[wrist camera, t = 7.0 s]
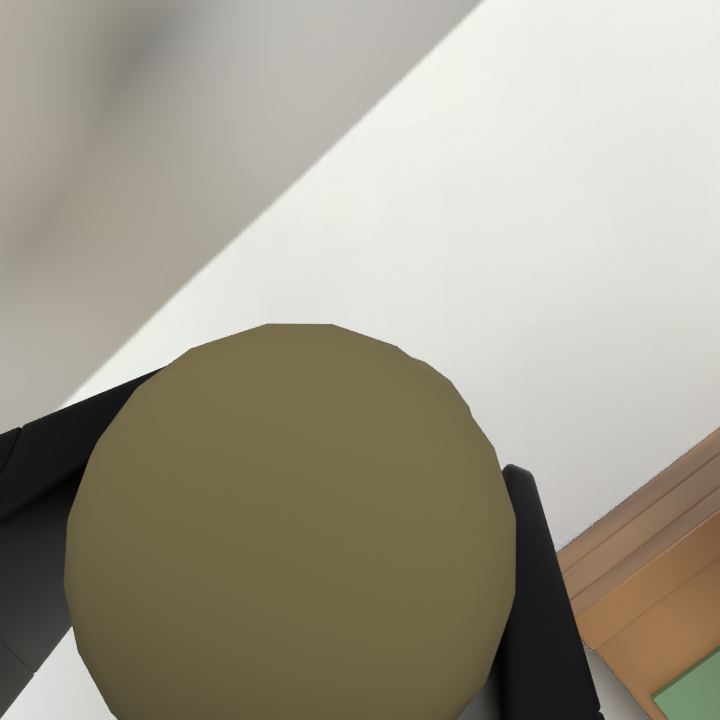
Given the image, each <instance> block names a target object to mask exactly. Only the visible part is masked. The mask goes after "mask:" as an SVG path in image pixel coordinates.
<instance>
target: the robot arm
mask: <svg viewBox="0 0 720 720" xmlns="http://www.w3.org/2000/svg"><path fill="white" fill-rule="evenodd" d="M165 367H166V366H165ZM165 367H163V368H165ZM163 368H160V369H158V370H155V371H153V372H151V373H148V374H146V375H143V376H141V377H138V378H136V379H134V380H131V381H129V382H126V383H124V384H122V385H119V386H117V387H114V388H112V389H109V390H107V391H105V392H102V393H100V394H97V395H95V396H93V397H90V398H88V399H85V400H83V401H80V402H78V403H76V404H73V405H71V406H68V407H66V408H64V409H61V410H59V411H56V412H54V413H51V414H49V415H47V416H44V417H42V418H39V419H38V420H35V421H32V422H30V423H28V424H25V425H24V426H23V427H22V428H20V427H18V428H15V429H12V430H11V431H8V432H5V433H3V434H0V719H1V717H2V716H3V715H4V714H5V712H6V711H7V710H8V708H9V707H10V706H11V705H12V703H13V702H14V701H15V699H16V698H17V697H18V695H19V694H20V693H21V692H22V690H23V689H24V688H25V686H26V685H27V684H28V683H29V681H30V680H31V679H32V677H33V676H34V673H35V672H37V670H38V669H39V668H40V667H41V665H42V664H43V663H44V661H45V660H46V659H47V658H48V656H49V655H50V654H51V652H52V651H53V650H54V649H55V647H56V646H57V645H58V643H59V642H60V641H61V639H62V638H63V637H64V636H65V634H66V633H67V632H68V630H69V629H70V628H71V627H72V622H71V617H70V612H69V608H68V603H67V599H66V594H65V590H64V571H65V555H66V539H67V522H68V517H69V514H70V511H71V508H72V506H73V503H74V500H75V497H76V495H77V492H78V489H79V486H80V483H81V481H82V478H83V475H84V472H85V469H86V467H87V464H88V461H89V458H90V456H91V454H92V452H93V450H94V448H95V446H96V444H97V441H98V440H99V438H100V437H101V436H102V434H103V433H104V432H105V430H106V429H107V428H108V426H109V425H110V424H111V422H112V421H113V419H114V418H115V417H116V415H117V414H118V413H119V411H120V410H121V409H122V407H123V406H124V405H125V403H126V402H127V401H128V399H129V398H130V397H131V395H132V394H133V392H134V391H135V390H136V388H137V387H138V386H140V385H141V384H143V383H144V382H145V381H147V380H148V379H149V378H151V377H152V376H154V375H155V374H156V373H158V372H159V371H161V370H162V369H163ZM502 475H503V478H504V481H505V484H506V488H507V491H508V494H509V497H510V500H511V504H512V507H513V510H514V513H515V516H516V577H515V596H514V600H513V604H512V608H511V611H510V614H509V617H508V620H507V623H506V626H505V629H504V631H503V634H502V637H501V640H500V643H499V646H498V649H497V652H496V654H495V657H494V660H493V663H492V666H491V669H490V672H489V675H488V678H487V680H486V683H485V685H484V686H483V687H482V688H481V690H480V691H479V692H478V694H477V695H476V696H475V697H474V699H473V700H472V701H471V702H470V704H469V705H468V706H467V707H466V709H465V710H464V711H463V712H462V714H461V715H460V716H459V717H458V719H457V720H605V719H604V716H603V714H602V713H601V712H598V711H599V710H600V703H599V699H598V696H597V693H596V689H595V686H594V682H593V679H592V675H591V672H590V669H589V665H588V662H587V658H586V655H585V651H584V648H583V645H582V641H581V638H580V634H579V631H578V627H577V624H576V621H575V617H574V614H573V610H572V607H571V603H570V600H569V597H568V593H567V590H566V586H565V583H564V579H563V576H562V573H561V569H560V566H559V562H558V559H557V555H556V552H555V549H554V545H553V542H552V538H551V535H550V531H549V528H548V525H547V521H546V518H545V514H544V511H543V507H542V504H541V501H540V497H539V494H538V490H537V487H536V483H535V480H534V477H533V475H532V474H531V473H530V472H529V471H527V470H525V469H522V468H520V467H518V466H515V465H513V464H508V465H507V466H505V468H504V469H503V471H502Z"/></svg>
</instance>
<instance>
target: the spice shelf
mask: <svg viewBox="0 0 720 720" xmlns="http://www.w3.org/2000/svg"><path fill="white" fill-rule="evenodd" d="M556 555H557V559H558V562H559V566H560V569H561V573H562V576H563V579H564V583H565V586H566V590H567V593H568V597H569V600H570V603H571V607H572V610H573V614H574V617H575V621H576V624H577V627H578V631H579V634H580V637H581V638H582V640H583V641H584V642H585V643H586V645H587V646H588V647H589V648H590V649H591V650H595V651H596V652H597V653H598V654H599V656H600V657H601V658H602V659H603V660H604V662H605V663H606V664H607V665H608V667H609V668H610V669H611V670H612V671H613V673H614V674H615V675H616V676H617V678H618V679H619V680H620V681H621V682H622V684H623V685H624V686H625V687H626V688H627V690H628V691H629V692H630V693H631V695H632V696H633V697H634V698H635V699H636V701H637V702H638V703H639V704H640V706H641V707H642V708H643V709H644V710H645V712H646V713H647V714H648V715H649V717H650V718H651V719H652V720H720V428H719V429H717V430H716V431H715V432H713V433H712V434H711V435H710V436H708V437H707V438H706V439H704V440H703V441H702V442H700V443H699V444H698V445H697V446H695V447H694V448H693V449H691V450H690V451H689V452H687V453H686V454H685V455H684V456H682V457H681V458H680V459H678V460H677V461H676V462H674V463H673V464H672V465H671V466H669V467H668V468H667V469H665V470H664V471H663V472H661V473H660V474H659V475H658V476H656V477H655V478H654V479H652V480H651V481H650V482H648V483H647V484H646V485H645V486H643V487H642V488H641V489H639V490H638V491H637V492H635V493H634V494H633V495H632V496H630V497H629V498H628V499H626V500H625V501H624V502H622V503H621V504H620V505H619V506H617V507H616V508H615V509H613V510H612V511H611V512H609V513H608V514H607V515H606V516H604V517H603V518H602V519H600V520H599V521H598V522H596V523H595V524H594V525H593V526H591V527H590V528H589V529H587V530H586V531H585V532H583V533H582V534H581V535H580V536H578V537H577V538H576V539H574V540H573V541H572V542H570V543H569V544H568V545H567V546H565V547H564V548H563V549H561V550H560V551H559V552H557V553H556Z"/></svg>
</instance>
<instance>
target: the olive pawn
mask: <svg viewBox="0 0 720 720" xmlns="http://www.w3.org/2000/svg"><path fill="white" fill-rule="evenodd" d="M515 577H516V516H515V513H514V510H513V507H512V504H511V500H510V497H509V494H508V491H507V488H506V484H505V481H504V478H503V475H502V472H501V469H500V465H499V462H498V459H497V456H496V453H495V449H494V447H493V445H492V444H491V443H490V441H489V440H488V438H487V437H486V436H485V434H484V433H483V431H482V430H481V428H480V427H479V426H478V424H477V423H476V421H475V420H474V419H473V417H472V415H471V412H470V408H469V406H468V405H467V404H466V402H465V401H464V399H463V398H462V396H461V395H460V394H459V392H458V391H457V389H456V388H455V387H454V385H453V384H452V382H451V381H450V380H449V379H447V378H446V377H445V376H443V375H442V374H441V373H439V372H438V371H437V370H435V369H434V368H433V367H431V366H430V365H429V364H427V363H426V362H424V361H421V360H418V359H415V358H412V357H410V356H409V355H407V354H406V353H405V352H403V351H402V350H401V349H399V348H398V347H397V346H394V345H392V344H389V343H386V342H383V341H380V340H377V339H374V338H371V337H368V336H365V335H362V334H359V333H356V332H354V331H351V330H348V329H345V328H342V327H339V326H336V325H333V324H265V325H262V326H259V327H256V328H253V329H249V330H246V331H243V332H240V333H237V334H234V335H231V336H228V337H225V338H221V339H218V340H215V341H212V342H209V343H206V344H203V345H200V346H197V347H194V348H191V349H189V350H188V351H187V352H185V353H184V354H183V355H181V356H180V357H178V358H177V359H176V360H174V361H173V362H172V363H170V364H169V365H167V366H166V367H165V368H163V369H162V370H161V371H159V372H158V373H156V374H155V375H154V376H152V377H151V378H149V379H148V380H147V381H145V382H144V383H143V384H141V385H140V386H138V387H137V388H136V390H135V391H134V392H133V394H132V395H131V397H130V398H129V399H128V401H127V402H126V403H125V405H124V406H123V407H122V409H121V410H120V411H119V413H118V414H117V415H116V417H115V418H114V419H113V421H112V422H111V424H110V425H109V426H108V428H107V429H106V430H105V432H104V433H103V434H102V436H101V437H100V438H99V440H98V441H97V444H96V446H95V448H94V450H93V452H92V454H91V456H90V458H89V461H88V464H87V467H86V469H85V472H84V475H83V478H82V481H81V483H80V486H79V489H78V492H77V495H76V497H75V500H74V503H73V506H72V508H71V511H70V514H69V517H68V522H67V539H66V555H65V571H64V590H65V594H66V599H67V603H68V608H69V612H70V617H71V622H72V626H73V631H74V635H75V640H76V644H77V649H78V653H79V654H80V656H81V658H82V660H83V662H84V664H85V665H86V667H87V669H88V671H89V673H90V675H91V677H92V678H93V680H94V682H95V684H96V686H97V688H98V689H99V691H100V693H101V695H102V697H103V699H104V701H105V702H106V704H107V706H108V708H109V710H110V712H111V713H112V714H113V715H114V716H115V717H116V718H117V719H118V720H457V719H458V717H459V716H460V715H461V714H462V712H463V711H464V710H465V709H466V707H467V706H468V705H469V704H470V702H471V701H472V700H473V699H474V697H475V696H476V695H477V694H478V692H479V691H480V690H481V688H482V687H483V686H484V685H485V683H486V680H487V678H488V675H489V672H490V669H491V666H492V663H493V660H494V657H495V654H496V652H497V649H498V646H499V643H500V640H501V637H502V634H503V631H504V629H505V626H506V623H507V620H508V617H509V614H510V611H511V608H512V604H513V600H514V596H515Z"/></svg>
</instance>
